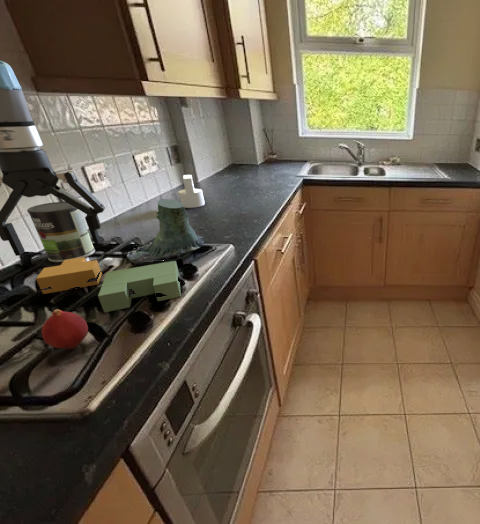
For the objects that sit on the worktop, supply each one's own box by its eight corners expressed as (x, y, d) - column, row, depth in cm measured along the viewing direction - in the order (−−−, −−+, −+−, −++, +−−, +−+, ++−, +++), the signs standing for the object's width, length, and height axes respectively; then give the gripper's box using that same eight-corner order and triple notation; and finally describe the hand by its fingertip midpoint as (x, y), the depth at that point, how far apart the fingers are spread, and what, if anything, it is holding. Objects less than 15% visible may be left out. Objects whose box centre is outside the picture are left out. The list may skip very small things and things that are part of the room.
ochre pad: (43, 294, 74) (35, 278, 72) (54, 276, 82) (48, 262, 80) (98, 284, 79) (92, 269, 77) (104, 268, 86) (99, 254, 84)
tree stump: (158, 240, 106) (159, 185, 99) (217, 258, 105) (222, 205, 98) (109, 260, 89) (106, 197, 82) (179, 283, 88) (181, 221, 81)
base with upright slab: (205, 206, 140) (199, 177, 135) (181, 208, 137) (174, 179, 131) (204, 201, 147) (199, 174, 142) (181, 203, 144) (175, 175, 139)
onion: (50, 347, 58) (31, 308, 55) (91, 333, 62) (75, 296, 58) (53, 363, 54) (33, 324, 51) (96, 348, 58) (80, 309, 55)
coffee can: (68, 264, 88) (47, 213, 82) (38, 260, 90) (16, 209, 84) (104, 250, 97) (88, 202, 91) (77, 246, 99) (59, 200, 93)
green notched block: (104, 312, 68) (97, 296, 66) (111, 287, 77) (106, 272, 76) (180, 296, 74) (176, 281, 73) (179, 274, 84) (175, 260, 82)
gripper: (-86, 155, 57) (-24, 265, 66) (93, 148, 68) (125, 243, 77) (-62, 150, 63) (-9, 252, 72) (99, 144, 74) (128, 233, 83)
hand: (60, 247), depth 75 cm, fingers open, 13 cm apart
